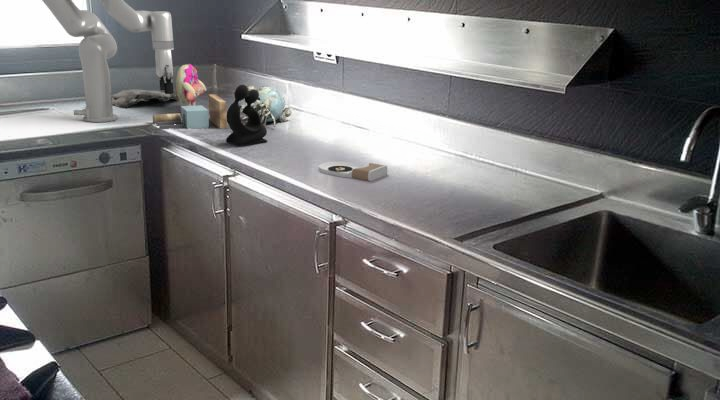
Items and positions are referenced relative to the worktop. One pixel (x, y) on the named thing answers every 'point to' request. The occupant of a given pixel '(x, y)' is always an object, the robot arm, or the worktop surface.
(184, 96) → the toy
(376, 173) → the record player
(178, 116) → the dowel
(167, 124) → the guide rails
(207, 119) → the block
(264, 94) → the sculpture
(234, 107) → the figurine
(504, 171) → the worktop surface
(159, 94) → the stone fragment
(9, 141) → the worktop surface
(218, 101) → the block
